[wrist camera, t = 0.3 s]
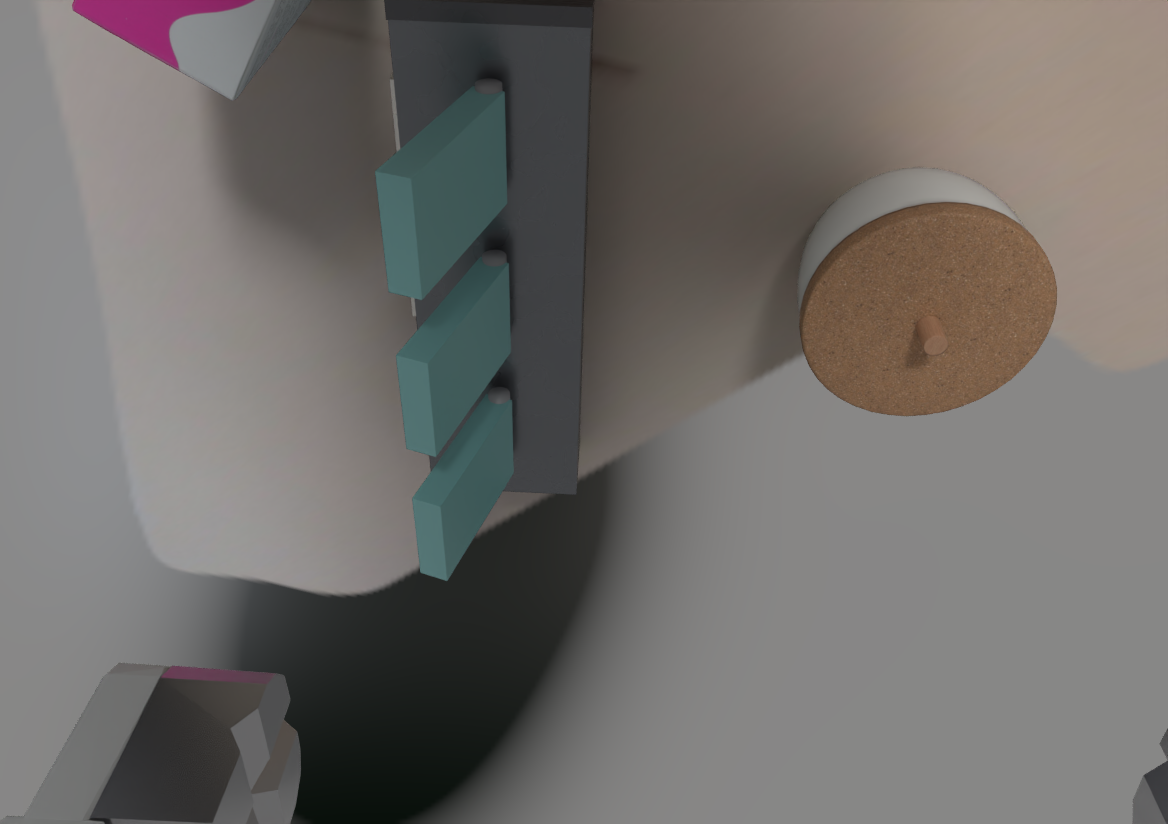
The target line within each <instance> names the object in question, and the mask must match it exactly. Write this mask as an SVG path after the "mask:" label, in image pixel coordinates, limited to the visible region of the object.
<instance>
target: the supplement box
mask: <svg viewBox="0 0 1168 824" xmlns="http://www.w3.org/2000/svg"><path fill="white" fill-rule="evenodd" d="M310 1H311V0H74V2H73V4H72V8H73V10H74V11H75V12H76V13H78V14H80V15H81V16H83V17H85V18H86V19H88V20H90V21H92V22H93V23H95V24H97V25H98V26H100V27H102V28H104V29H105V30H107V31H109V32H110V33H112V34H114V35H116V36H118V37H120V38H121V39H123V40H125V41H127V42H128V43H130V44H132V45H133V46H135V47H137V48H139V49H140V50H142V51H144V52H146V53H147V54H149V55H151V56H153V57H155V58H157V59H158V60H160V61H162V62H164V63H166V64H167V65H169V66H171V67H173V68H174V69H176V70H178V71H180V72H182V73H183V74H185V75H187V76H189V77H191V78H193V79H194V80H196V81H198V82H200V83H202V84H203V85H205V86H207V87H209V88H211V89H212V90H214V91H216V92H218V93H219V94H221V95H223V96H225V97H226V98H228V99H230V100H231V101H232V100H235V99H236V98H237V97H238V96H239V95H240V93H241V92H242V91H243V89H244V88H245V87H246V85H247V84H248V83H249V81H250V80H251V79H252V78H253V76H254V75H255V73H256V72H257V71H258V70H259V68H260V67H261V66H262V65H263V63H264V62H265V61H266V59H267V58H268V57H269V55H270V54H271V53H272V51H273V50H274V49H275V48H276V46H277V45H278V44H279V43H280V41H281V40H282V39H283V37H284V36H285V35H286V33H287V32H288V31H289V30H290V28H291V27H292V26H293V25H294V23H295V22H296V21H297V19H298V18H299V16H300V15H301V14H302V12H303V11H304V10H305V9H306V7H307V6H308V5H309V3H310Z"/></svg>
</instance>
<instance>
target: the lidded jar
mask: <svg viewBox="0 0 1168 824" xmlns="http://www.w3.org/2000/svg"><path fill="white" fill-rule="evenodd" d="M797 303H798V310H799V317H800V326H799V328H800V335H801V341H802V346H803V351H804V354H805V357H806V359H807V362H808V364H809V366H810V368H811V370H812V371H813V373H814V374H815V376H816V377H817V379H818V380H819V381H820V382H821V383H822V384H823V385H824V386H825V387H826V388H827V389H828V390H829V391H831V392H832V393H833V394H835V395H836V396H837V397H839V398H840V399H842V400H844V401H846V402H848V403H850V404H852V405H854V406H856V407H860V408H862V409H866V410H868V411H871V412H876V413H881V414H887V415H898V416H899V415H900V416H916V415H927V414H933V413H939V412H944V411H948V410H951V409H954V408H958V407H961V406H964V405H966V404H969V403H971V402H974V401H976V400H979V399H981V398H982V397H984V396H986V395H988V394H990V393H991V392H993V391H995V390H996V389H998V388H999V387H1001V386H1002V385H1003V384H1005V383H1006V382H1008V381H1009V380H1011V379H1012V378H1013V377H1014V376H1015V375H1016V374H1017V373H1018V372H1019V371H1021V369H1023V368H1024V367H1025V365H1026V364H1027V363H1028V362H1029V361H1030V360H1031V359H1032V358H1033V356H1034V355H1035V354H1036V353H1037V351H1038V349H1039V348H1040V346H1041V345H1042V343H1043V341H1044V340H1045V338H1046V336H1047V334H1048V332H1049V329H1050V327H1051V324H1052V322H1053V319H1054V314H1055V309H1056V305H1057V286H1056V281H1055V276H1054V272H1053V269H1052V267H1051V265H1050V262H1049V260H1048V258H1047V256H1046V254H1045V252H1044V251H1043V249H1042V248H1041V247H1040V245H1039V244H1038V242H1037V241H1036V240H1035V238H1034V237H1033V236H1032V235H1031V234H1030V233H1029V232H1028V230H1027V229H1026V227H1025V226H1024V224H1023V223H1022V222H1021V220H1020V219H1019V217H1018V216H1017V215H1016V213H1015V212H1014V211H1013V210H1012V209H1011V208H1010V207H1009V206H1008V205H1007V204H1006V203H1005V202H1004V201H1003V200H1002V199H1001V198H1000V197H998V196H997V195H996V194H995V193H994V192H992V191H991V190H989V189H988V188H987V187H985V186H983V185H982V184H980V183H979V182H977V181H975V180H974V179H971V178H969V177H966V176H964V175H961V174H959V173H955V172H952V171H948V170H943V169H938V168H928V167H913V168H902V169H898V170H893V171H888V172H885V173H882V174H879V175H877V176H874V177H871V178H869V179H867V180H865V181H863V182H861V183H859V184H857V185H855V186H854V187H852V188H851V189H850V190H848V191H847V192H845V193H844V194H842V195H841V196H840V197H839V198H838V199H837V200H836V201H835V202H833V203H832V204H831V205H830V206H829V207H828V209H827V210H826V211H825V212H824V214H823V215H822V216H821V217H820V219H819V220H818V222H817V224H816V225H815V227H814V229H813V230H812V232H811V234H810V236H809V237H808V240H807V242H806V245H805V247H804V250H803V254H802V258H801V263H800V268H799V273H798V293H797Z"/></svg>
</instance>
